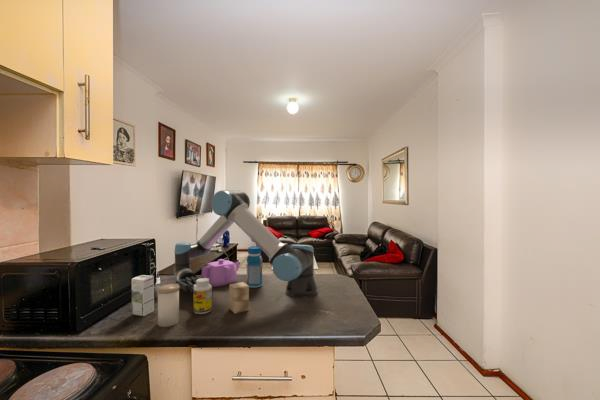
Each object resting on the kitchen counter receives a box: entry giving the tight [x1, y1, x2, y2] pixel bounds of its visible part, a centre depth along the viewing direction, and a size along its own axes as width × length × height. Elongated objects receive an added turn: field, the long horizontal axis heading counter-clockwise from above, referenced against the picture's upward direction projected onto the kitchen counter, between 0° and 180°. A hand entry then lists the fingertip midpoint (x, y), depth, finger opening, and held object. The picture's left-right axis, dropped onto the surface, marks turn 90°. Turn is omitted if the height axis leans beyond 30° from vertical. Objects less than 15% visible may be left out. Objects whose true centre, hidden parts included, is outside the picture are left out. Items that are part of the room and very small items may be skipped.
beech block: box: [228, 281, 250, 314], centre depth 114 cm, size 6×6×10 cm
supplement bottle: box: [192, 277, 213, 315], centre depth 111 cm, size 7×7×13 cm
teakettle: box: [200, 258, 241, 288], centre depth 149 cm, size 17×17×12 cm
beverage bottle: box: [245, 245, 264, 289], centre depth 144 cm, size 8×8×20 cm
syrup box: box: [131, 274, 155, 317], centre depth 109 cm, size 6×6×14 cm
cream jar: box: [156, 283, 180, 328], centre depth 101 cm, size 7×7×13 cm
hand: (198, 291), depth 116 cm, fingers closed
